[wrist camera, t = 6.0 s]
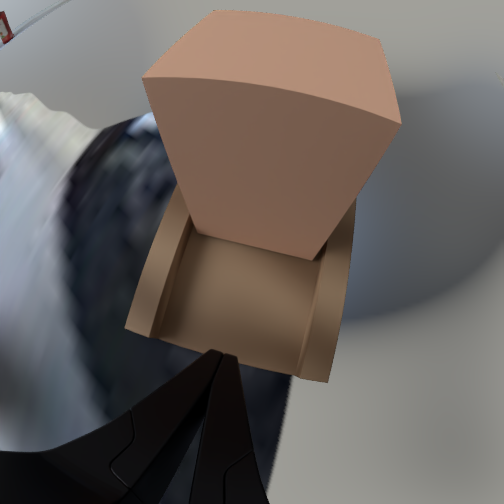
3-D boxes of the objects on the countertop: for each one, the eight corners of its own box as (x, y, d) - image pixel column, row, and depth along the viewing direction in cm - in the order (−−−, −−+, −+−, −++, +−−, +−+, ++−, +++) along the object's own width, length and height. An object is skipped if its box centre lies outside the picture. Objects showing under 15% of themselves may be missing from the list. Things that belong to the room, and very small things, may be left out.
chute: (318, 379, 14) (341, 388, 10) (137, 330, 15) (106, 324, 11) (350, 168, 19) (367, 133, 15) (210, 137, 20) (205, 98, 16)
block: (312, 260, 16) (401, 124, 5) (197, 233, 16) (141, 77, 6) (324, 179, 18) (379, 39, 7) (225, 157, 18) (214, 10, 8)
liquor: (0, 47, 48) (-17, 11, 22) (8, 40, 51) (-8, 5, 24) (10, 40, 49) (-7, 2, 22) (17, 34, 51) (2, -3, 25)
